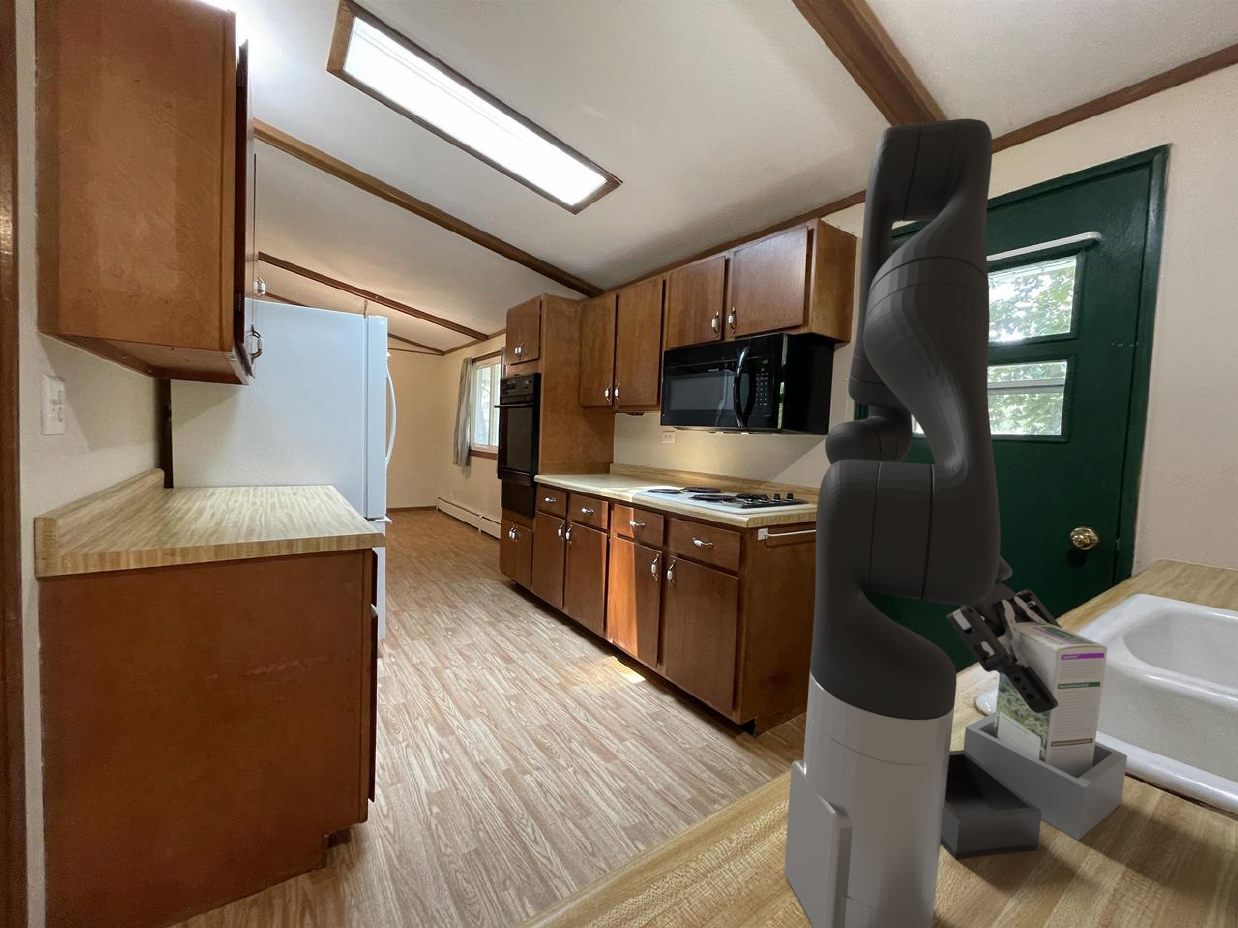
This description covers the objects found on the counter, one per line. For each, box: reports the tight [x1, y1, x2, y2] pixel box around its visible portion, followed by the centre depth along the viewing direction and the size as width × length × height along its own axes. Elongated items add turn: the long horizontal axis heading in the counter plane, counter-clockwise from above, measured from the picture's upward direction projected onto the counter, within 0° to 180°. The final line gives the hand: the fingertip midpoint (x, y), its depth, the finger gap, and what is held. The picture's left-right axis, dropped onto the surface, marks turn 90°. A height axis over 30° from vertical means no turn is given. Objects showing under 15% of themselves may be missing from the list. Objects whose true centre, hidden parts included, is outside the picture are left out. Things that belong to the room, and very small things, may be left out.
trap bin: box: [940, 749, 1042, 860], centre depth 46 cm, size 8×8×4 cm
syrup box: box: [993, 622, 1108, 779], centre depth 50 cm, size 6×6×14 cm
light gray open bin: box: [962, 711, 1128, 841], centre depth 51 cm, size 10×10×5 cm
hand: (1066, 700), depth 49 cm, fingers closed on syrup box, 7 cm apart
